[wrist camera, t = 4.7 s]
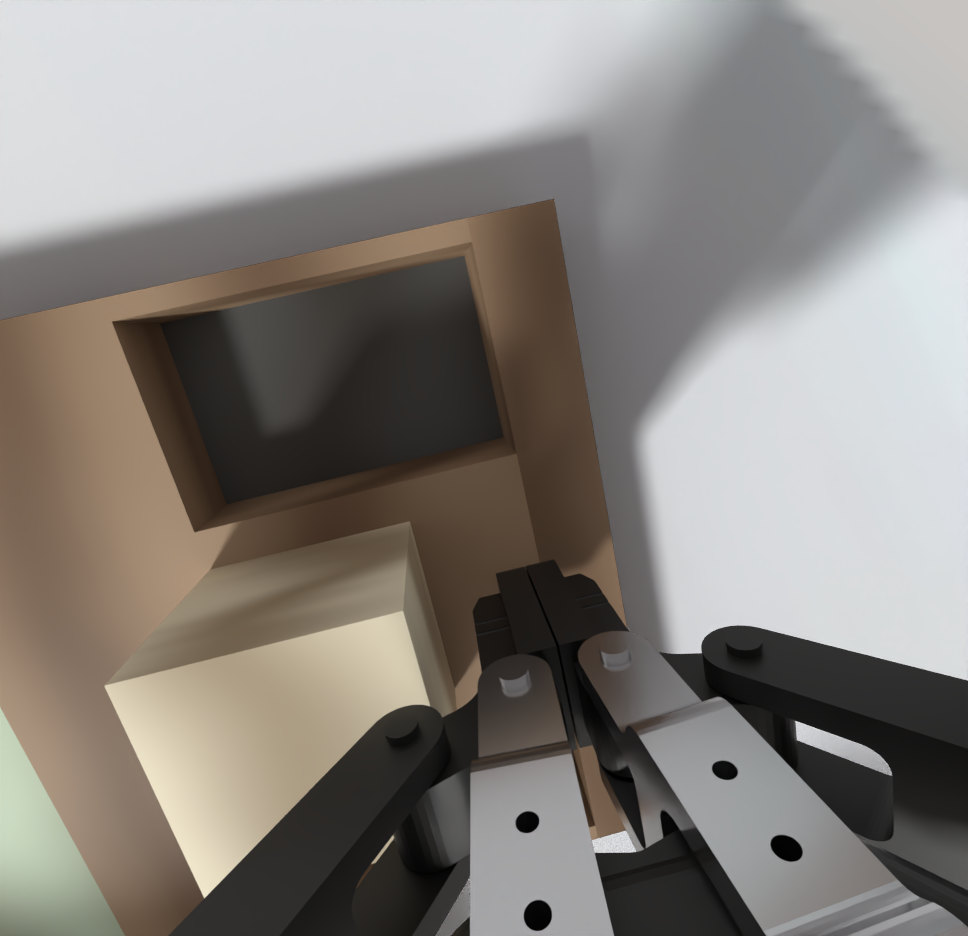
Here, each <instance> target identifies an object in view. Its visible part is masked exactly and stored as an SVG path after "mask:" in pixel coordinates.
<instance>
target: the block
mask: <svg viewBox="0 0 968 936" xmlns="http://www.w3.org/2000/svg"><path fill="white" fill-rule="evenodd" d="M104 686H105V689H106V691H107V693H108V695H109V697H110V699H111V701H112V703H113V706H114V708H115V710H116V712H117V714H118V716H119V718H120V720H121V723H122V725H123V727H124V729H125V731H126V733H127V735H128V737H129V740H130V742H131V744H132V746H133V748H134V750H135V752H136V754H137V757H138V759H139V761H140V763H141V765H142V767H143V769H144V771H145V774H146V776H147V778H148V780H149V782H150V784H151V786H152V788H153V791H154V793H155V795H156V797H157V799H158V801H159V803H160V805H161V808H162V810H163V812H164V814H165V816H166V818H167V820H168V822H169V824H170V827H171V829H172V831H173V833H174V835H175V837H176V839H177V841H178V844H179V846H180V848H181V850H182V852H183V854H184V856H185V858H186V861H187V863H188V865H189V867H190V869H191V871H192V873H193V875H194V878H195V880H196V882H197V884H198V886H199V888H200V890H201V892H202V895H203V897H204V898H205V897H206V896H207V895H208V894H209V893H210V892H211V891H212V890H213V889H214V888H215V887H216V886H217V885H218V884H219V883H220V882H221V881H222V880H223V879H224V878H225V877H226V876H227V875H228V874H229V873H230V872H231V871H232V870H233V869H234V867H235V866H236V865H237V864H238V863H239V862H240V861H241V860H242V859H243V858H244V857H245V856H246V855H247V854H248V853H249V852H250V851H251V850H252V849H253V848H254V847H255V846H256V845H257V844H258V843H259V842H260V841H261V840H262V839H263V838H264V837H265V836H266V835H267V834H268V833H269V832H270V831H271V829H272V828H273V827H274V826H275V825H276V824H277V823H278V822H279V821H280V820H281V819H282V818H283V817H284V816H285V815H286V814H287V813H288V812H289V811H290V810H291V809H292V808H293V807H294V806H295V805H296V804H297V803H298V802H299V801H300V800H301V799H302V798H303V797H304V796H305V795H306V794H307V793H308V791H309V790H310V789H311V788H312V787H313V786H314V785H315V784H316V783H317V782H318V781H319V780H320V779H321V778H322V777H323V776H324V775H325V774H326V773H327V772H328V771H329V770H330V769H331V768H332V767H333V766H334V765H335V764H336V763H337V762H338V761H339V760H340V759H341V758H342V757H343V756H344V755H345V754H346V752H347V751H348V750H349V749H350V748H351V747H352V746H353V745H354V744H355V743H356V742H357V741H358V740H359V739H360V738H361V737H362V736H363V735H364V734H365V733H366V732H367V731H368V730H369V729H370V728H371V727H372V726H373V725H374V724H375V723H376V722H377V721H378V720H379V719H380V718H382V717H383V716H385V715H386V714H388V713H390V712H391V711H394V710H396V709H398V708H401V707H404V706H409V705H427V706H430V707H433V708H434V709H436V710H437V711H438V712H439V713H440V714H441V716H442V717H444V716H446V715H448V714H450V713H452V712H454V711H456V710H457V707H456V695H455V687H454V683H453V680H452V676H451V672H450V668H449V665H448V661H447V657H446V654H445V650H444V646H443V642H442V639H441V635H440V631H439V628H438V624H437V620H436V616H435V613H434V609H433V605H432V602H431V598H430V594H429V590H428V587H427V583H426V579H425V576H424V572H423V568H422V564H421V561H420V557H419V553H418V550H417V546H416V542H415V538H414V535H413V531H412V527H411V524H410V521H409V522H405V523H400V524H396V525H392V526H388V527H384V528H380V529H376V530H371V531H367V532H363V533H359V534H355V535H351V536H347V537H343V538H338V539H334V540H330V541H326V542H322V543H318V544H314V545H310V546H305V547H301V548H297V549H293V550H289V551H285V552H281V553H277V554H272V555H268V556H264V557H260V558H256V559H252V560H248V561H244V562H239V563H235V564H231V565H227V566H223V567H219V568H215V569H210V570H209V571H208V572H207V574H206V575H205V576H204V577H203V578H202V579H201V580H200V581H199V582H198V583H197V584H196V586H195V587H194V588H193V589H192V590H191V591H190V592H189V593H188V594H187V595H186V597H185V598H184V599H183V600H182V601H181V602H180V603H179V604H178V605H177V606H176V608H175V609H174V610H173V611H172V612H171V613H170V614H169V615H168V616H167V617H166V618H165V620H164V621H163V622H162V623H161V624H160V625H159V626H158V627H157V628H156V629H155V631H154V632H153V633H152V634H151V635H150V636H149V637H148V638H147V639H146V640H145V641H144V643H143V644H142V645H141V646H140V647H139V648H138V649H137V650H136V651H135V652H134V654H133V655H132V656H131V657H130V658H129V659H128V660H127V661H126V662H125V663H124V665H123V666H122V667H121V668H120V669H119V670H118V671H117V672H116V673H115V674H114V675H113V677H112V678H111V679H110V680H109V681H108V682H107V683H106V684H105V685H104ZM393 839H394V836H392V837H391V838H390V840H389V841H388V842H387V844H386V845H385V846H384V848H383V849H382V850H381V852H380V853H379V854H378V856H377V857H376V858H375V859H374V861H373V862H372V863H371V864H373V863H376V862H377V860H378V859H379V858H380V856H381V855H382V854H383V852H384V851H385V850H386V848H387V847H388V846H389V844H390V843H391V842H392V840H393Z"/></svg>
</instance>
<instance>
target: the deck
mask: <svg viewBox="0 0 968 936" xmlns="http://www.w3.org/2000/svg"><path fill="white" fill-rule="evenodd" d="M409 521H410V524H411V527H412V531H413V535H414V538H415V542H416V546H417V550H418V553H419V557H420V561H421V564H422V568H423V572H424V576H425V579H426V583H427V587H428V590H429V594H430V598H431V602H432V605H433V609H434V613H435V616H436V620H437V624H438V628H439V631H440V635H441V639H442V642H443V646H444V650H445V654H446V657H447V661H448V665H449V668H450V672H451V676H452V680H453V683H454V687H455V695H456V707H457V710H458V709H459V708H461V707H463V706H464V705H465V704H467V703H468V702H469V701H470V700H471V699H472V698H473V697H474V696H475V695H476V694H477V692H478V680H479V677H480V675H481V673H482V670H481V664H480V657H479V651H478V644H477V638H476V631H475V624H474V618H473V609H474V607H475V605H476V603H477V601H478V599H479V598H481V597H485V596H489V595H493V594H497V593H500V591H499V587H498V582H497V578H496V573H499V572H503V571H507V570H511V569H516V568H520V567H525V566H528V565H532V564H536V563H540V562H544V561H548V560H552V559H554V560H555V561H556V563H557V565H558V567H559V569H560V570H561V572H562V574H563V576H564V577H567V576H571V575H575V574H579V573H581V574H583V575H585V576H587V577H589V578H590V579H592V580H594V581H595V582H596V583H597V585H598V586H599V588H600V589H601V591H602V593H603V594H604V595H605V597H606V598H607V600H608V601H609V603H610V604H611V605H612V607H613V608H614V610H615V611H616V613H617V614H618V616H619V617H620V619H621V620H622V622H623V623H624V625H625V626H626V628H627V625H626V619H625V613H624V608H623V602H622V596H621V590H620V584H619V578H618V572H617V566H616V561H615V555H614V549H613V543H612V537H611V531H610V525H609V520H608V514H607V508H606V502H605V496H604V490H603V484H602V478H601V473H600V467H599V461H598V455H597V449H596V443H595V437H594V431H593V426H592V420H591V414H590V408H589V402H588V396H587V390H586V384H585V379H584V373H583V367H582V361H581V355H580V349H579V343H578V338H577V332H576V326H575V320H574V314H573V308H572V302H571V296H570V291H569V285H568V279H567V273H566V267H565V261H564V255H563V249H562V244H561V238H560V232H559V226H558V220H557V214H556V208H555V203H554V199H551V200H546V201H542V202H537V203H533V204H528V205H524V206H519V207H514V208H510V209H505V210H501V211H496V212H492V213H487V214H483V215H478V216H473V217H469V218H464V219H460V220H455V221H451V222H446V223H442V224H437V225H432V226H428V227H423V228H419V229H414V230H410V231H405V232H400V233H396V234H391V235H387V236H382V237H378V238H373V239H369V240H364V241H359V242H355V243H350V244H346V245H341V246H337V247H332V248H328V249H323V250H318V251H314V252H309V253H305V254H300V255H296V256H291V257H287V258H282V259H277V260H273V261H268V262H264V263H259V264H255V265H250V266H246V267H241V268H236V269H232V270H227V271H223V272H218V273H214V274H209V275H205V276H200V277H195V278H191V279H186V280H182V281H177V282H173V283H168V284H164V285H159V286H154V287H150V288H145V289H141V290H136V291H132V292H127V293H122V294H118V295H113V296H109V297H104V298H100V299H95V300H91V301H86V302H81V303H77V304H72V305H68V306H63V307H59V308H54V309H50V310H45V311H40V312H36V313H31V314H27V315H22V316H18V317H13V318H9V319H4V320H0V936H168V935H169V934H170V933H171V932H172V931H173V930H174V929H175V928H176V927H177V926H178V925H179V924H180V923H181V922H182V921H183V920H184V919H185V918H186V917H187V916H188V915H189V914H190V913H191V912H192V911H193V910H194V909H195V908H196V907H197V905H198V904H199V903H200V902H201V901H202V900H203V899H204V897H203V895H202V892H201V890H200V888H199V886H198V884H197V882H196V880H195V878H194V875H193V873H192V871H191V869H190V867H189V865H188V863H187V861H186V858H185V856H184V854H183V852H182V850H181V848H180V846H179V844H178V841H177V839H176V837H175V835H174V833H173V831H172V829H171V827H170V824H169V822H168V820H167V818H166V816H165V814H164V812H163V810H162V808H161V805H160V803H159V801H158V799H157V797H156V795H155V793H154V791H153V788H152V786H151V784H150V782H149V780H148V778H147V776H146V774H145V771H144V769H143V767H142V765H141V763H140V761H139V759H138V757H137V754H136V752H135V750H134V748H133V746H132V744H131V742H130V740H129V737H128V735H127V733H126V731H125V729H124V727H123V725H122V723H121V720H120V718H119V716H118V714H117V712H116V710H115V708H114V706H113V703H112V701H111V699H110V697H109V695H108V693H107V691H106V689H105V686H104V685H105V684H106V683H107V682H108V681H109V680H110V679H111V678H112V677H113V675H114V674H115V673H116V672H117V671H118V670H119V669H120V668H121V667H122V666H123V665H124V663H125V662H126V661H127V660H128V659H129V658H130V657H131V656H132V655H133V654H134V652H135V651H136V650H137V649H138V648H139V647H140V646H141V645H142V644H143V643H144V641H145V640H146V639H147V638H148V637H149V636H150V635H151V634H152V633H153V632H154V631H155V629H156V628H157V627H158V626H159V625H160V624H161V623H162V622H163V621H164V620H165V618H166V617H167V616H168V615H169V614H170V613H171V612H172V611H173V610H174V609H175V608H176V606H177V605H178V604H179V603H180V602H181V601H182V600H183V599H184V598H185V597H186V595H187V594H188V593H189V592H190V591H191V590H192V589H193V588H194V587H195V586H196V584H197V583H198V582H199V581H200V580H201V579H202V578H203V577H204V576H205V575H206V574H207V572H208V571H209V570H210V569H215V568H219V567H223V566H227V565H231V564H235V563H239V562H244V561H248V560H252V559H256V558H260V557H264V556H268V555H272V554H277V553H281V552H285V551H289V550H293V549H297V548H301V547H305V546H310V545H314V544H318V543H322V542H326V541H330V540H334V539H338V538H343V537H347V536H351V535H355V534H359V533H363V532H367V531H371V530H376V529H380V528H384V527H388V526H392V525H396V524H400V523H405V522H409ZM525 570H526V569H525ZM574 735H575V734H574ZM575 740H576V744H577V749H576V750H572V755H573V760H574V764H575V771H576V775H577V780H578V784H579V788H580V792H581V797H582V801H583V805H584V810H585V814H586V818H587V822H588V827H589V831H590V835H591V840H594V839H597V838H601V837H604V836H608V835H611V834H615V833H618V832H622V831H625V830H626V829H625V827H624V825H623V823H622V821H621V819H620V817H619V815H618V813H617V811H616V809H615V807H614V805H613V803H612V801H611V798H610V796H609V794H608V792H607V790H606V788H605V786H604V784H603V782H602V779H601V775H600V770H599V765H598V759H597V755H596V752H595V750H594V747H593V745H591V746H587V747H583V748H580V747H579V745H578V742H577V739H576V736H575ZM374 864H375V863H373V864H371V865H370V866H369V867H368V869H367V870H366V871H365V873H364V874H363V876H362V877H361V879H360V881H359V883H358V885H357V887H358V886H359V884H360V883H361V882H362V880H363V879H364V878H365V876H366V875H367V874H368V872H369V871H370V870H371V868H372V867H373V866H374ZM357 887H356V888H357Z"/></svg>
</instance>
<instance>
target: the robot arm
mask: <svg viewBox="0 0 968 936" xmlns="http://www.w3.org/2000/svg"><path fill="white" fill-rule="evenodd" d="M525 569H526V570H525ZM496 578H497V582H498V587H499V591H500V593H497V594H493V595H489V596H485V597H481V598H479V599H478V601H477V603H476V605H475V607H474V609H473V618H474V624H475V631H476V638H477V644H478V651H479V657H480V664H481V670H482V673H481V675H480V677H479V680H478V692H477V694H476V695H475V696H474V697H473V698H472V699H471V700H470V701H469V702H468V703H467V704H465V705H464V706H463V707H461V708H459V709H458V710H456V711H454V712H452V713H450V714H448V715H446V716H444V717H442V716H441V714H440V713H439V712H438V711H437V710H436V709H434V708H433V707H430V706H427V705H409V706H404V707H401V708H398V709H396V710H394V711H391V712H390V713H388V714H386V715H385V716H383V717H382V718H380V719H379V720H378V721H377V722H376V723H375V724H374V725H373V726H372V727H371V728H370V729H369V730H368V731H367V732H366V733H365V734H364V735H363V736H362V737H361V738H360V739H359V740H358V741H357V742H356V743H355V744H354V745H353V746H352V747H351V748H350V749H349V750H348V751H347V752H346V754H345V755H344V756H343V757H342V758H341V759H340V760H339V761H338V762H337V763H336V764H335V765H334V766H333V767H332V768H331V769H330V770H329V771H328V772H327V773H326V774H325V775H324V776H323V777H322V778H321V779H320V780H319V781H318V782H317V783H316V784H315V785H314V786H313V787H312V788H311V789H310V790H309V791H308V793H307V794H306V795H305V796H304V797H303V798H302V799H301V800H300V801H299V802H298V803H297V804H296V805H295V806H294V807H293V808H292V809H291V810H290V811H289V812H288V813H287V814H286V815H285V816H284V817H283V818H282V819H281V820H280V821H279V822H278V823H277V824H276V825H275V826H274V827H273V828H272V829H271V831H270V832H269V833H268V834H267V835H266V836H265V837H264V838H263V839H262V840H261V841H260V842H259V843H258V844H257V845H256V846H255V847H254V848H253V849H252V850H251V851H250V852H249V853H248V854H247V855H246V856H245V857H244V858H243V859H242V860H241V861H240V862H239V863H238V864H237V865H236V866H235V867H234V869H233V870H232V871H231V872H230V873H229V874H228V875H227V876H226V877H225V878H224V879H223V880H222V881H221V882H220V883H219V884H218V885H217V886H216V887H215V888H214V889H213V890H212V891H211V892H210V893H209V894H208V895H207V896H206V897H205V898H204V899H203V900H202V901H201V902H200V903H199V904H198V905H197V907H196V908H195V909H194V910H193V911H192V912H191V913H190V914H189V915H188V916H187V917H186V918H185V919H184V920H183V921H182V922H181V923H180V924H179V925H178V926H177V927H176V928H175V929H174V930H173V931H172V932H171V933H170V934H169V935H168V936H435V935H436V933H437V931H438V930H439V928H440V926H441V925H442V923H443V921H444V920H445V918H446V916H447V914H448V913H449V911H450V909H451V908H452V906H453V904H454V902H455V901H456V899H457V897H458V896H459V894H460V892H461V891H462V889H463V887H464V885H465V884H466V882H467V880H468V879H469V877H470V917H469V918H468V919H467V920H466V921H465V922H464V923H463V924H462V925H461V926H460V927H459V928H457V929H456V931H455V932H454V933H453V934H452V935H451V936H968V681H967V680H963V679H959V678H955V677H951V676H947V675H943V674H939V673H935V672H931V671H927V670H923V669H919V668H915V667H911V666H907V665H903V664H899V663H895V662H892V661H888V660H884V659H880V658H876V657H872V656H868V655H864V654H860V653H856V652H852V651H848V650H844V649H840V648H836V647H832V646H828V645H824V644H820V643H816V642H813V641H809V640H805V639H801V638H797V637H793V636H789V635H785V634H781V633H777V632H773V631H769V630H765V629H761V628H757V627H751V626H729V627H724V628H720V629H717V630H715V631H713V632H711V633H710V634H708V635H707V636H706V637H705V638H704V640H703V642H702V645H701V646H702V653H699V654H668V653H661V652H658V651H657V650H656V649H655V647H654V646H653V645H652V644H651V643H650V642H649V641H648V640H647V639H646V638H644V637H643V636H641V635H638V634H636V633H632V632H629V631H628V629H627V628H626V626H625V625H624V623H623V622H622V620H621V619H620V617H619V616H618V614H617V613H616V611H615V610H614V608H613V607H612V605H611V604H610V603H609V601H608V600H607V598H606V597H605V595H604V594H603V593H602V591H601V589H600V588H599V586H598V585H597V583H596V582H595V581H594V580H592V579H590V578H589V577H587V576H585V575H583V574H581V573H579V574H575V575H571V576H567V577H564V576H563V574H562V572H561V570H560V569H559V567H558V565H557V563H556V561H555V560H554V559H552V560H548V561H544V562H540V563H536V564H532V565H528V566H525V567H520V568H516V569H511V570H507V571H503V572H499V573H496ZM795 721H798V722H801V723H804V724H806V725H809V726H812V727H815V728H818V729H820V730H823V731H826V732H829V733H832V734H834V735H837V736H840V737H843V738H846V739H848V740H851V741H854V742H857V743H860V744H862V745H865V746H867V747H869V748H870V749H872V750H874V751H875V752H876V753H878V754H879V755H880V756H881V757H882V758H883V759H884V760H885V761H886V762H887V763H888V765H889V767H890V768H891V771H892V775H893V776H889V775H886V774H884V773H881V772H878V771H876V770H873V769H870V768H868V767H865V766H863V765H860V764H857V763H855V762H852V761H849V760H847V759H844V758H842V757H839V756H836V755H834V754H831V753H828V752H826V751H823V750H821V749H818V748H815V747H813V746H810V745H807V744H805V743H802V742H800V741H797V738H796V725H795ZM574 734H575V735H574ZM575 736H576V739H577V742H578V745H579V747H580V748H583V747H587V746H591V745H593V747H594V750H595V752H596V755H597V759H598V765H599V770H600V775H601V779H602V782H603V784H604V786H605V788H606V790H607V792H608V794H609V796H610V798H611V801H612V803H613V805H614V807H615V809H616V811H617V813H618V815H619V817H620V819H621V821H622V823H623V825H624V827H625V829H626V831H627V833H628V835H629V837H630V839H631V841H632V843H633V845H634V848H635V850H636V852H633V853H595V852H594V848H593V844H592V840H591V835H590V831H589V827H588V822H587V818H586V814H585V810H584V805H583V801H582V797H581V792H580V788H579V784H578V780H577V775H576V771H575V764H574V760H573V755H572V750H576V749H577V744H576V740H575ZM392 836H394V839H393V840H392V842H391V843H390V844H389V846H388V847H387V848H386V850H385V851H384V852H383V854H382V855H381V856H380V858H379V859H378V860H377V862H376V863H375V864H374V866H373V867H372V868H371V870H370V871H369V872H368V874H367V875H366V876H365V878H364V879H363V880H362V882H361V883H360V884H359V886H358V887H357V885H358V883H359V881H360V879H361V877H362V876H363V874H364V873H365V871H366V870H367V869H368V867H369V866H370V865H371V863H372V862H373V861H374V859H375V858H376V857H377V856H378V854H379V853H380V852H381V850H382V849H383V848H384V846H385V845H386V844H387V842H388V841H389V840H390V838H391V837H392ZM356 887H357V888H356Z"/></svg>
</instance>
